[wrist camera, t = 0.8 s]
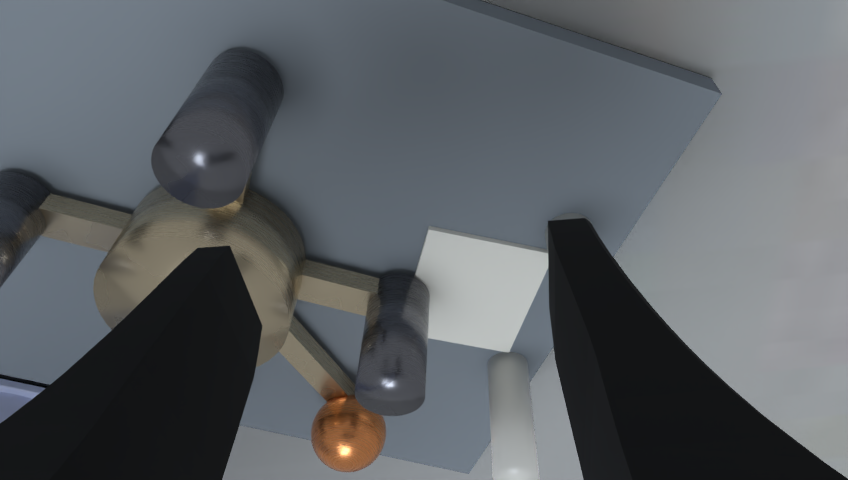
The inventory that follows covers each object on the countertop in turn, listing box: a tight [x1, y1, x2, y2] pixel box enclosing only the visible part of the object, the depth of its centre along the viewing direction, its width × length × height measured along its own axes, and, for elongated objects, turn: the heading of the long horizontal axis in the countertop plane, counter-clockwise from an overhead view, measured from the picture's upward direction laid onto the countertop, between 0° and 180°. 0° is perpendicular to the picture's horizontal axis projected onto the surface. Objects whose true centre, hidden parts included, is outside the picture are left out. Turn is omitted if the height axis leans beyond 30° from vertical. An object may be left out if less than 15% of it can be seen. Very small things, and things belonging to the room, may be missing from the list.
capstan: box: [0, 50, 430, 472], centre depth 21 cm, size 16×16×4 cm
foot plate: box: [0, 0, 722, 474], centre depth 24 cm, size 21×24×1 cm
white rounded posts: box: [414, 213, 592, 480], centre depth 22 cm, size 9×6×5 cm
